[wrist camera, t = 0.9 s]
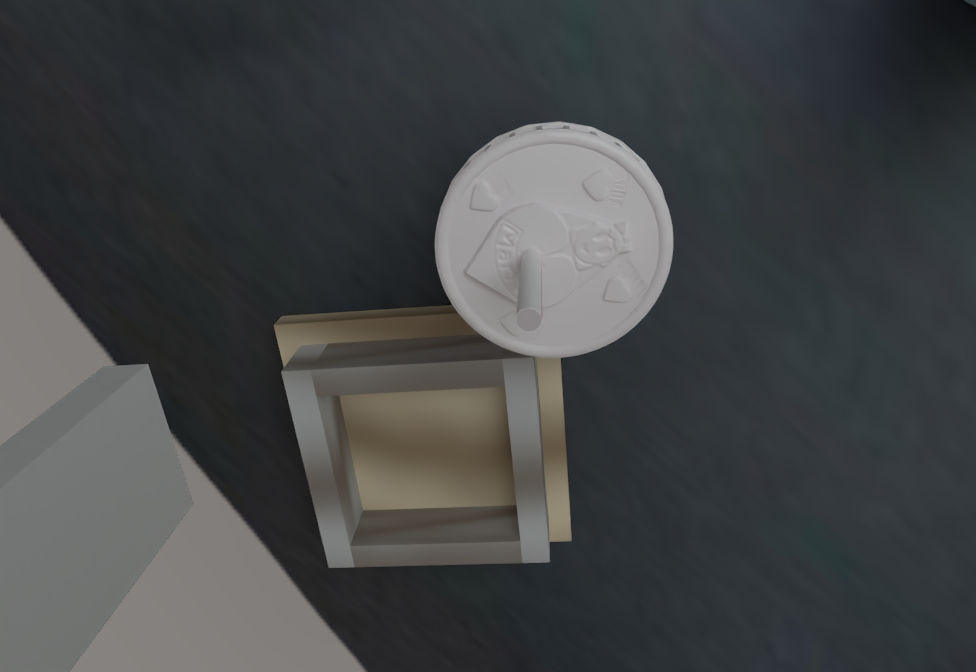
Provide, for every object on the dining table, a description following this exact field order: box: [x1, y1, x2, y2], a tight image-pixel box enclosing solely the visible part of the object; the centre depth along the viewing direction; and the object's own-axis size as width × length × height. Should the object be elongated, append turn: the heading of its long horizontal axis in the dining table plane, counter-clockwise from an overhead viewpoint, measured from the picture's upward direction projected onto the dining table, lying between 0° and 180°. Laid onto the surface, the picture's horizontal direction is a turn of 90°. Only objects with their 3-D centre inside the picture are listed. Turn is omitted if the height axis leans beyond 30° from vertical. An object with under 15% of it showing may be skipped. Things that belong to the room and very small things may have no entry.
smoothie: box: [435, 121, 673, 358], centre depth 21 cm, size 6×6×14 cm
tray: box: [274, 305, 572, 568], centre depth 30 cm, size 12×12×4 cm
